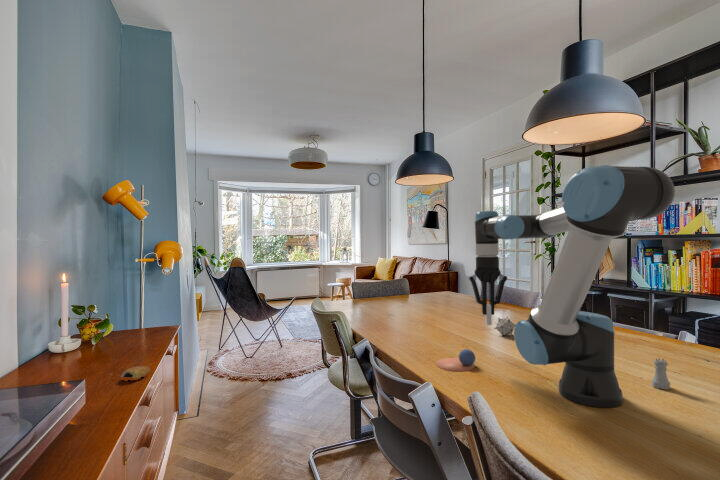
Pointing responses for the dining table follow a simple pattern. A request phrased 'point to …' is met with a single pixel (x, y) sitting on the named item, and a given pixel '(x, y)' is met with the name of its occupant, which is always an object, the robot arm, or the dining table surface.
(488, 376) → the dining table surface
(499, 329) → the game die
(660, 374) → the rook chess piece
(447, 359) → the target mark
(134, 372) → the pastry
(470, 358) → the ball
